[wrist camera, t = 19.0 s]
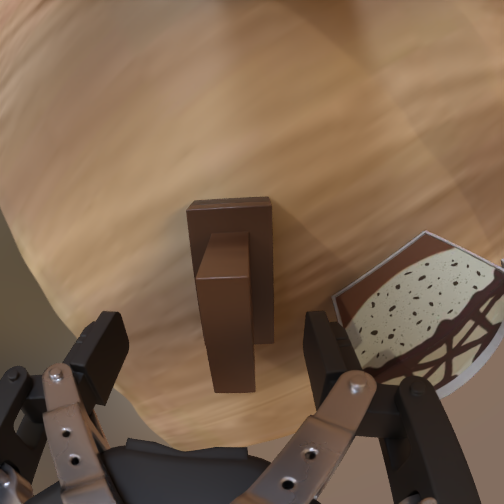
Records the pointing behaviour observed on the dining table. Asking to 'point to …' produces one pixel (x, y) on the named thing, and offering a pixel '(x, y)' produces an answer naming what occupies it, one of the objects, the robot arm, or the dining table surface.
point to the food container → (425, 314)
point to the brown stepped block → (233, 284)
